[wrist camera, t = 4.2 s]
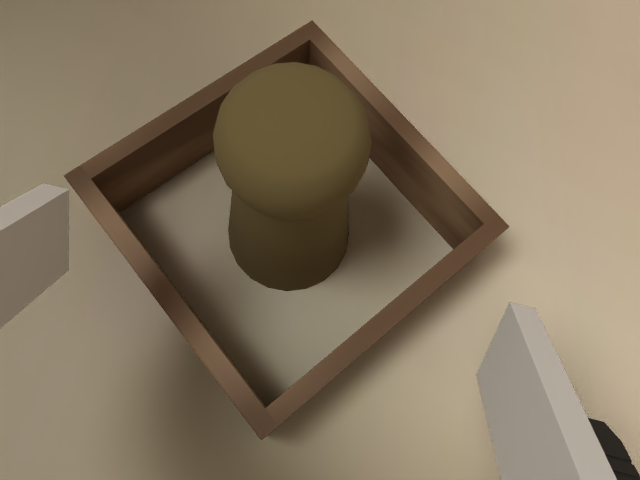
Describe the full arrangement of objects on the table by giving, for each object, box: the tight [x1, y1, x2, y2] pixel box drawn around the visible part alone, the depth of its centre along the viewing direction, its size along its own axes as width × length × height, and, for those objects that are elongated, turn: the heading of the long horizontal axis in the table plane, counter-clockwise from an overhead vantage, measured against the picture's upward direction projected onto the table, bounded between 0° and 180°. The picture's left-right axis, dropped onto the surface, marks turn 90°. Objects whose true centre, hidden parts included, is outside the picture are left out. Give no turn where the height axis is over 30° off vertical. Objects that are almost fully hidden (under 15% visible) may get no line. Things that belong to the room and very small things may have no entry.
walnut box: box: [64, 21, 509, 440], centre depth 24 cm, size 14×14×4 cm
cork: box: [213, 62, 371, 291], centre depth 21 cm, size 6×6×11 cm
